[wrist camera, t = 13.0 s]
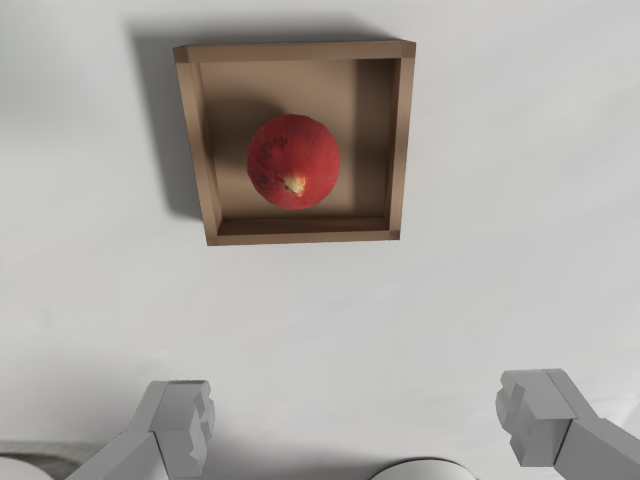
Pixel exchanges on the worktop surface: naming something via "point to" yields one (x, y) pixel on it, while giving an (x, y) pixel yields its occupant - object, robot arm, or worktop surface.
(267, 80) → the walnut tray
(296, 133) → the onion
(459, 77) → the worktop surface
